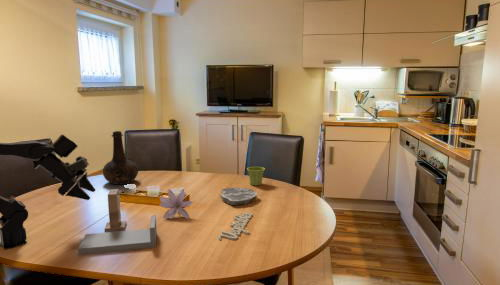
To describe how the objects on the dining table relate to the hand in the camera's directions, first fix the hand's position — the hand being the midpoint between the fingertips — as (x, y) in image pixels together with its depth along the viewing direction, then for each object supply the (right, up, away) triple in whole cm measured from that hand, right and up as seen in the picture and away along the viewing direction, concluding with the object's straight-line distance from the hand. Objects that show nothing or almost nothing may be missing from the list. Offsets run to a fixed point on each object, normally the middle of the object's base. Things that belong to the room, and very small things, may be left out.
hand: (92, 195), depth 130 cm
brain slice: (+53, -8, +37) cm, 65 cm away
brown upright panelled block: (+7, -13, +4) cm, 15 cm away
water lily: (+27, -11, +15) cm, 33 cm away
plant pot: (+61, -3, +59) cm, 85 cm away
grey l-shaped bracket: (+14, -15, -9) cm, 22 cm away
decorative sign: (+54, -13, +5) cm, 56 cm away
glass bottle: (-12, -3, +62) cm, 64 cm away
